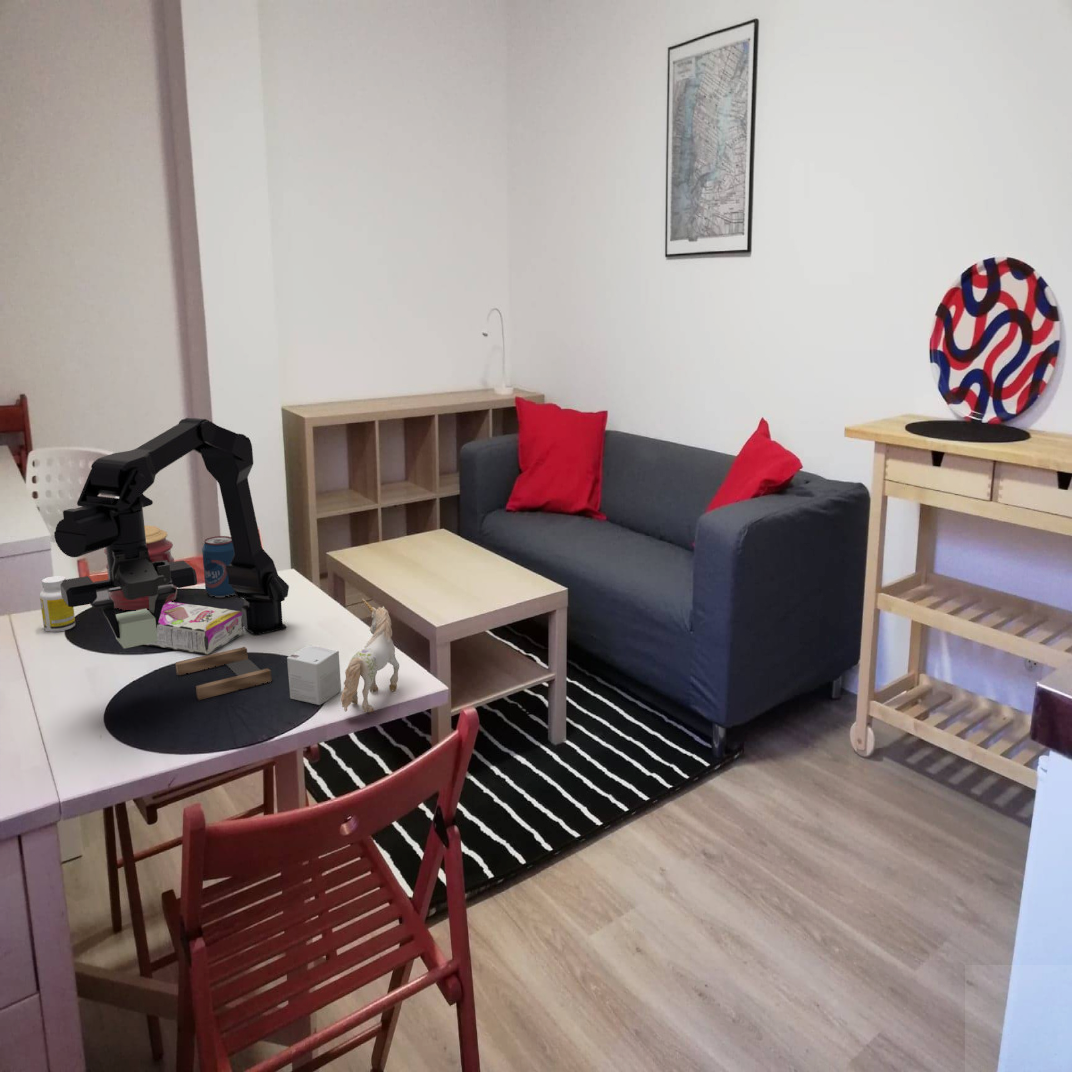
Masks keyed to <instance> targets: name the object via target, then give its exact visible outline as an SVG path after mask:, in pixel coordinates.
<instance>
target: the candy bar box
mask: <svg viewBox="0 0 1072 1072" xmlns="http://www.w3.org/2000/svg"><path fill="white" fill-rule="evenodd" d="M148 611H149V610H148ZM149 612H150V611H149ZM156 630H157V640H158V641H157V642H153V643H148V644H143V645H144V646H151V647H157V648H164V649H170V650H171V649H172V650H178V651H182V652H183V651H184V652H188V653H189V652H190V653H196V654H203V655H210V654H211V653H213V652H214V651H216V650H217V649H220V648H221V647H223V646H225V645H226V644H228V643H229V642H232V641H233V640H235V639H237V638H238V637H240V636H242V635H244V626H243V618H242V610H235V609H229V608H222V607H221V608H220V607H213V606H207V605H206V606H205V605H198V604H192V603H186V602H185V603H184V602H183V603H182V602H176V601H173V602H172V601H170V602H168V603H166V604H164V605H163V608H162V611H161V615H160V618H159V622H158V625H157V629H156Z"/></svg>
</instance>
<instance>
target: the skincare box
mask: <svg viewBox="0 0 1072 1072" xmlns="http://www.w3.org/2000/svg"><path fill="white" fill-rule="evenodd" d="M339 652H340V651H339V650H337V649H332V648H326V647H322V646H317V645H313V644H308V645H307V646H305V647H303V648H301V649H299V650H298V651H296V652H294V653H292V654H291V655H289V656H287V658H286V661H287V674H288V676H287V677H288V686H289V688H288V689H289V698H290V700H291V699H292V700H296V701H300V702H305V703H308V704H314V705H317V706H321V705H322V704H324V703H325V702H327V701H328V700H329V699H331V698H333V697H334V696H336V695H338V693H340V692H341V691H342V683H341V668H340V667H341V665H340V653H339Z"/></svg>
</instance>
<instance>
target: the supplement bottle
mask: <svg viewBox="0 0 1072 1072" xmlns="http://www.w3.org/2000/svg"><path fill="white" fill-rule="evenodd" d="M64 580H67V579H66V577H65V576H63V575H54V576H48V577H46V578H45V577H44V578H43V579H42V580H41V585H42V588H43V589H42V590H41V592H40V593H39V600H40V609H41V616H42V624H43V628H44V631H47V632H52V633H54V632H55V633H56V632H58V633H59V632H64V631H67V630H70V629H72V628H74V627H75V626H76V616H75V609H74V608H75V607H68V605H67V604H66V602H65V601H64V600H63V598H62V595H61V588H60V586H61V583H62V582H63V581H64Z"/></svg>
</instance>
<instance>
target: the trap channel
mask: <svg viewBox="0 0 1072 1072" xmlns="http://www.w3.org/2000/svg"><path fill="white" fill-rule="evenodd" d="M232 662H234V663H232ZM224 664H226V665H224ZM221 665H222V666H226V667H227V666H228V667H227V668H228V669H229V668H230V669H229V670H230V671H231V672H232V671H233V672H232V673H233V674H234V673H235V674H234V675H235V676H231V677H227V678H223V679H219V680H214V681H210V682H206V683H202V684H199V685H195V693H196V698H197V700H198V701H201V700H204V699H209V698H213V697H217V696H220V695H225V694H228V693H232V692H236V691H239V689H241V690H243V689H248V688H251V687H256V686H259V685H263V684H262V683H264V684H267V682H268V683H271V681H272V671H271V669H269V668H263V669H260V668H259V667H258V666H257V664H255V663H254V662H253V661H252V660H251V659H250V658H249V657H248V648H246V646H242V647H237V648H232V649H230V650H229V649H228V650H225V651H220V652H214V653H212V654H211V653H209V654H205V655H201V656H199V657H193V658H189V659H185V660H179V661H177V662H176V661H175V673H176V675H177V676H178V675H179V676H183V675H187V674H186V673H188V674H192V673H196V672H200V671H205V670H208V668H209V669H213V668H217V667H220V666H221ZM215 666H216V667H215ZM204 669H205V670H204ZM236 675H237V676H236ZM255 685H256V686H255Z"/></svg>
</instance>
